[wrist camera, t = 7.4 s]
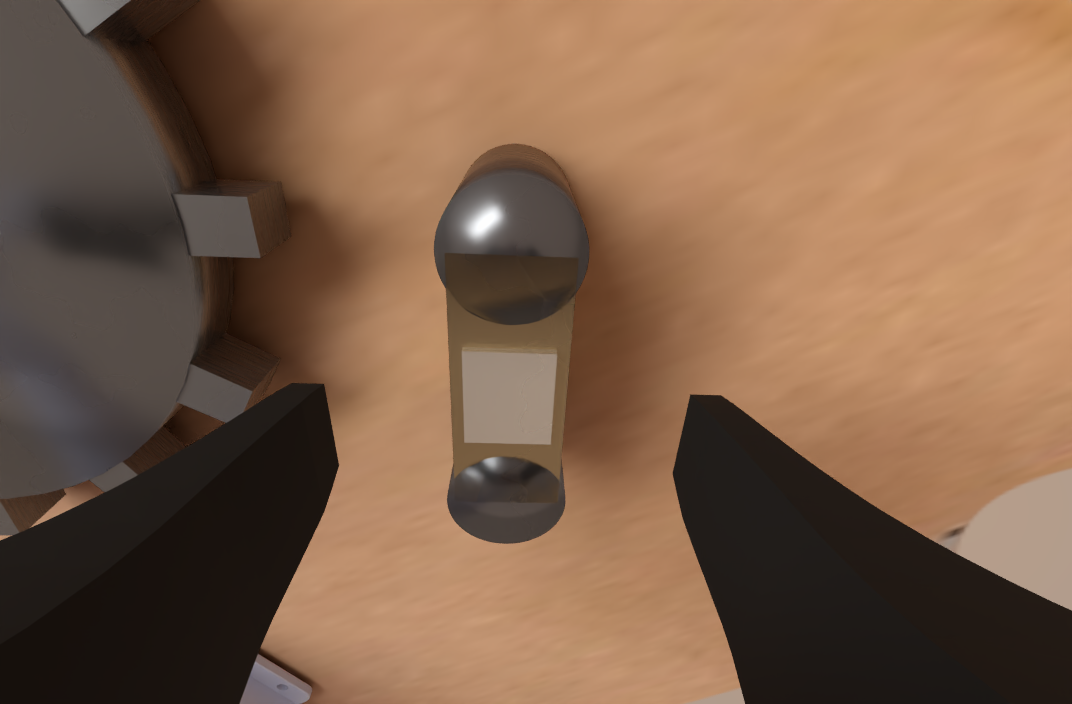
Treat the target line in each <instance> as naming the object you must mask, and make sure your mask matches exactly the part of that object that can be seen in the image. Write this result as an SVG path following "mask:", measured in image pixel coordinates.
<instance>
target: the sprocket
mask: <svg viewBox="0 0 1072 704" xmlns="http://www.w3.org/2000/svg"><path fill="white" fill-rule="evenodd" d="M198 1H200V0H0V535H15V534H17V533H20V532H22V531H24V530H27V529H29V528H30V527H31V526H32V525H33V524H34V523H35V522H36V521H38V520H39V519H40V518H41V517H42V516H43V515H44V514H45V513H46V512H47V511H48V510H50V509H51V508H52V507H53V506H54V505H55V504H56V503H57V502H58V501H59V500H60V499H61V498H63V497H64V496H65V495H66V493H65V491H64V488H67V487H71V486H75V485H77V484H80V483H82V482H84V481H87V480H90V481H91V482H92V483H94V484H95V485H96V486H97V487H99V488H100V489H101V490H102V491H104V492H107V491H109V490H111V489H113V488H115V487H117V486H118V485H120V484H122V483H124V482H126V481H128V480H130V479H132V478H133V477H135V476H137V475H139V474H141V473H142V472H144V471H146V470H148V469H149V468H151V467H153V466H155V465H156V464H158V463H160V462H162V461H163V460H165V459H167V458H169V457H170V456H172V455H174V454H175V453H177V452H179V451H181V450H182V449H184V448H186V446H184V445H183V444H182V443H181V442H180V441H179V440H178V439H177V438H176V437H175V436H174V435H172V434H171V433H170V432H169V431H168V430H167V429H166V428H165V427H164V426H163V425H164V424H165V423H166V422H167V421H168V420H169V419H170V418H171V417H173V416H174V415H175V414H176V413H177V412H178V411H179V410H180V409H181V408H182V407H183V406H184V405H185V406H187V407H190V408H192V409H194V410H197V411H199V412H202V413H204V414H206V415H209V416H211V417H213V418H216V419H218V420H220V421H223V422H225V423H227V422H229V421H230V420H232V419H233V418H235V417H237V416H238V415H240V414H241V413H243V412H245V411H246V410H248V409H249V408H251V407H252V406H254V405H255V404H256V403H257V402H258V400H259V399H260V398H261V397H262V396H263V394H264V393H265V392H266V390H267V387H268V385H269V383H270V381H271V379H272V376H273V374H274V372H275V370H276V368H277V365H278V363H279V361H280V359H281V358H278V357H276V356H274V355H272V354H270V353H268V352H266V351H263V350H261V349H259V348H257V347H255V346H253V345H251V344H249V343H246V342H244V341H242V340H240V339H238V338H236V337H234V336H232V335H229V334H227V329H228V326H229V322H230V317H231V309H232V300H233V291H234V271H233V257H242V258H261V257H263V256H264V255H266V254H267V253H269V252H270V251H271V250H273V249H274V248H276V247H277V246H278V245H280V244H281V243H283V242H284V241H286V240H287V239H288V238H290V237H291V232H290V227H289V221H288V216H287V211H286V206H285V200H284V195H283V190H282V184H281V182H276V181H250V180H225V179H216V176H215V172H214V169H213V166H212V163H211V160H210V158H209V155H208V153H207V151H206V149H205V146H204V144H203V142H202V139H201V137H200V135H199V133H198V130H197V128H196V126H195V123H194V121H193V119H192V117H191V114H190V112H189V110H188V109H187V107H186V105H185V103H184V101H183V100H182V98H181V96H180V94H179V93H178V91H177V89H176V87H175V85H174V84H173V82H172V80H171V78H170V77H169V75H168V73H167V71H166V69H165V68H164V66H163V64H162V62H161V61H160V59H159V58H158V56H157V55H156V53H155V52H154V51H153V49H152V48H151V46H150V45H149V43H148V42H147V41H146V40H147V39H149V38H150V37H151V36H153V35H154V34H155V33H157V32H158V31H159V30H161V29H162V28H163V27H165V26H166V25H167V24H169V23H170V22H172V21H173V20H174V19H176V18H177V17H178V16H180V15H181V14H182V13H184V12H185V11H186V10H188V9H189V8H190V7H192V6H193V5H194V4H196V3H197V2H198Z"/></svg>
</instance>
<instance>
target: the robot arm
mask: <svg viewBox="0 0 1072 704" xmlns="http://www.w3.org/2000/svg"><path fill="white" fill-rule="evenodd" d="M338 467H339V463H338V457H337V452H336V447H335V441H334V436H333V430H332V425H331V419H330V414H329V408H328V403H327V397H326V392H325V386H324V384H306V383H292V384H290V385H288V386H286V387H284V388H282V389H280V390H279V391H277V392H275V393H274V394H272V395H270V396H269V397H267V398H265V399H264V400H262V401H260V402H259V403H257V404H256V405H254V406H252V407H251V408H249V409H248V410H246V411H245V412H243V413H241V414H240V415H238V416H237V417H235V418H233V419H232V420H230V421H229V422H227V423H225V424H224V425H222V426H221V427H219V428H217V429H216V430H214V431H212V432H211V433H209V434H208V435H206V436H204V437H203V438H201V439H200V440H198V441H196V442H195V443H193V444H191V445H189V446H188V447H186V448H184V449H182V450H181V451H179V452H177V453H175V454H174V455H172V456H170V457H169V458H167V459H165V460H163V461H162V462H160V463H158V464H156V465H155V466H153V467H151V468H149V469H148V470H146V471H144V472H142V473H141V474H139V475H137V476H135V477H133V478H132V479H130V480H128V481H126V482H124V483H122V484H120V485H118V486H117V487H115V488H113V489H111V490H109V491H107V492H105V493H103V494H101V495H99V496H97V497H95V498H93V499H91V500H89V501H87V502H85V503H83V504H81V505H79V506H76V507H74V508H72V509H70V510H68V511H66V512H64V513H62V514H60V515H58V516H56V517H54V518H51V519H49V520H47V521H45V522H43V523H41V524H38V525H36V526H34V527H31V528H29V529H27V530H24V531H22V532H20V533H17V534H15V535H13V536H10V537H8V538H6V539H3V540H1V541H0V704H301V703H304V702H306V701H307V700H309V699H310V696H311V693H312V688H311V686H309V685H308V684H306V683H305V682H303V681H302V680H300V679H298V678H297V677H295V676H293V675H292V674H290V673H289V672H287V671H285V670H284V669H282V668H280V667H279V666H277V665H275V664H274V663H272V662H271V661H269V660H267V659H266V658H264V657H262V656H261V655H259V654H258V652H259V650H260V647H261V645H262V642H263V640H264V638H265V635H266V633H267V631H268V629H269V626H270V624H271V622H272V619H273V617H274V615H275V613H276V611H277V609H278V607H279V605H280V603H281V601H282V599H283V597H284V595H285V593H286V591H287V588H288V586H289V584H290V582H291V580H292V578H293V576H294V574H295V572H296V570H297V568H298V566H299V564H300V562H301V560H302V557H303V555H304V553H305V551H306V549H307V547H308V545H309V543H310V541H311V539H312V537H313V534H314V532H315V530H316V528H317V526H318V524H319V522H320V520H321V517H322V515H323V513H324V511H325V508H326V505H327V502H328V499H329V496H330V493H331V490H332V487H333V483H334V480H335V477H336V474H337V470H338ZM673 477H674V482H675V486H676V491H677V496H678V500H679V504H680V509H681V513H682V517H683V520H684V523H685V526H686V529H687V532H688V534H689V537H690V540H691V543H692V545H693V548H694V551H695V553H696V556H697V559H698V561H699V564H700V567H701V569H702V572H703V575H704V577H705V580H706V583H707V585H708V588H709V591H710V593H711V596H712V599H713V601H714V604H715V607H716V609H717V612H718V615H719V617H720V620H721V623H722V625H723V628H724V631H725V634H726V637H727V640H728V643H729V647H730V650H731V653H732V656H733V660H734V664H735V667H736V671H737V675H738V679H739V682H740V686H741V690H742V694H743V697H744V701H745V704H1072V611H1071V610H1069V609H1067V608H1065V607H1063V606H1060V605H1058V604H1056V603H1053V602H1051V601H1049V600H1047V599H1045V598H1043V597H1041V596H1039V595H1037V594H1035V593H1033V592H1031V591H1028V590H1026V589H1024V588H1022V587H1020V586H1018V585H1016V584H1014V583H1012V582H1010V581H1008V580H1006V579H1004V578H1002V577H1000V576H998V575H996V574H994V573H992V572H990V571H988V570H987V569H984V568H983V567H981V566H979V565H977V564H975V563H973V562H971V561H969V560H967V559H965V558H963V557H962V556H960V555H958V554H956V553H954V552H952V551H950V550H948V549H947V548H945V547H943V546H941V545H939V544H938V543H936V542H934V541H932V540H930V539H929V538H927V537H925V536H923V535H922V534H920V533H918V532H917V531H915V530H913V529H912V528H910V527H908V526H907V525H905V524H903V523H901V522H900V521H898V520H896V519H895V518H893V517H891V516H890V515H888V514H886V513H885V512H883V511H881V510H880V509H878V508H877V507H875V506H873V505H872V504H870V503H869V502H867V501H866V500H864V499H863V498H861V497H860V496H858V495H857V494H855V493H854V492H852V491H851V490H849V489H848V488H846V487H845V486H843V485H842V484H840V483H839V482H837V481H836V480H834V479H833V478H832V477H830V476H829V475H827V474H826V473H824V472H823V471H822V470H820V469H819V468H817V467H816V466H815V465H813V464H812V463H810V462H809V461H808V460H806V459H805V458H804V457H802V456H801V455H800V454H798V453H797V452H796V451H794V450H793V449H792V448H790V447H789V446H788V445H786V444H785V443H784V442H782V441H781V440H780V439H778V438H777V437H776V436H775V435H773V434H772V433H771V432H769V431H768V430H767V429H765V428H764V427H763V426H762V425H760V424H759V423H758V422H756V421H755V420H754V419H753V418H751V417H750V416H749V415H747V414H746V413H745V412H743V411H742V410H741V409H739V408H738V407H737V406H735V405H734V404H733V403H731V402H730V401H728V400H727V399H725V398H724V397H722V396H721V395H690V399H689V404H688V408H687V412H686V417H685V421H684V426H683V430H682V435H681V439H680V443H679V448H678V452H677V457H676V461H675V466H674V470H673Z"/></svg>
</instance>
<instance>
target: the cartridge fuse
mask: <svg viewBox="0 0 1072 704" xmlns="http://www.w3.org/2000/svg"><path fill="white" fill-rule="evenodd" d="M434 256H435V263H436V267H437V271H438V274H439V276H440V279H441V281H442V283H443V285H444V286H445V288H446V298H447V322H448V345H449V369H450V392H451V415H452V439H453V462H454V463H453V468H452V474H451V479H450V484H449V490H448V495H447V503H448V508H449V511H450V514H451V516H452V518H453V519H454V520H455V522H456V523H457V524H458V525H459V526H460V527H461V528H462V529H463V530H465V531H466V532H467V533H469V534H471V535H473V536H475V537H477V538H479V539H482V540H485V541H489V542H494V543H504V544H508V543H520V542H524V541H528V540H531V539H534V538H537V537H539V536H541V535H543V534H544V533H546V532H547V531H549V530H550V529H551V528H552V527H553V526H554V525H555V524H556V523H557V522H558V521H559V519H560V518H561V516H562V514H563V511H564V507H565V489H564V479H563V468H562V458H561V456H562V445H563V433H564V422H565V410H566V399H567V387H568V376H569V364H570V353H571V341H572V330H573V318H574V307H575V295H576V292H577V291H578V289H579V287H580V286H581V284H582V281H583V279H584V277H585V274H586V271H587V267H588V261H589V242H588V236H587V232H586V228H585V225H584V223H583V220H582V218H581V215H580V213H579V210H578V207H577V205H576V202H575V200H574V197H573V194H572V192H571V189H570V187H569V184H568V182H567V179H566V177H565V175H564V173H563V171H562V169H561V168H560V167H559V165H558V164H557V163H556V162H555V161H554V160H553V159H552V158H551V157H550V156H548V155H547V154H546V153H544V152H542V151H541V150H539V149H536V148H534V147H531V146H527V145H522V144H507V145H502V146H498V147H495V148H493V149H491V150H489V151H487V152H486V153H484V154H483V155H481V156H480V157H479V158H478V159H477V160H476V161H475V162H474V163H473V164H472V165H471V167H470V168H469V170H468V171H467V173H466V175H465V177H464V178H463V180H462V182H461V183H460V185H459V187H458V189H457V190H456V192H455V194H454V196H453V197H452V199H451V201H450V202H449V204H448V206H447V208H446V209H445V211H444V213H443V215H442V217H441V219H440V221H439V224H438V227H437V230H436V235H435V241H434Z"/></svg>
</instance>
